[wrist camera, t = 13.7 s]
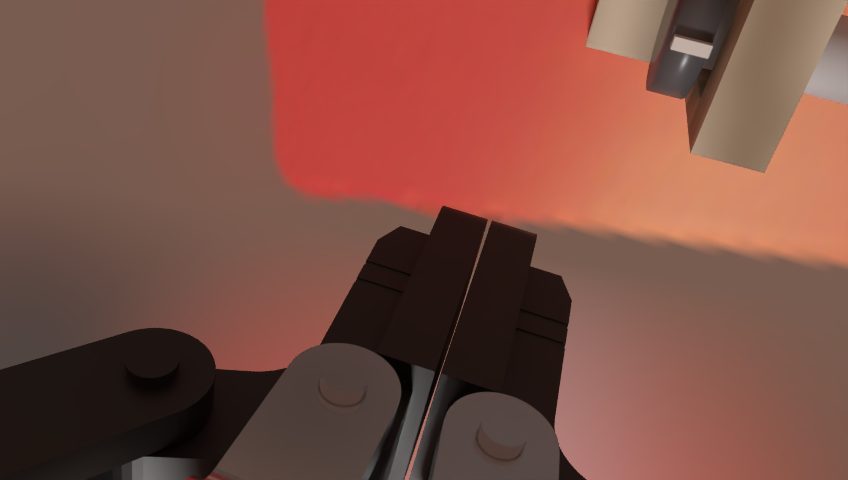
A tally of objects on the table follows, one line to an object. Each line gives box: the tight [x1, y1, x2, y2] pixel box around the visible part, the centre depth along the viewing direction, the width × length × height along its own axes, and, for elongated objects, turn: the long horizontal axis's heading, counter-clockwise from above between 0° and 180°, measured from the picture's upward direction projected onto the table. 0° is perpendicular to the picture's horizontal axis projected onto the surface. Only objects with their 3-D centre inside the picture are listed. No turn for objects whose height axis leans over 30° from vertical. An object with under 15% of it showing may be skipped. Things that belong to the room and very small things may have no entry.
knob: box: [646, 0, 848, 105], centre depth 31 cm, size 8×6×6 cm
